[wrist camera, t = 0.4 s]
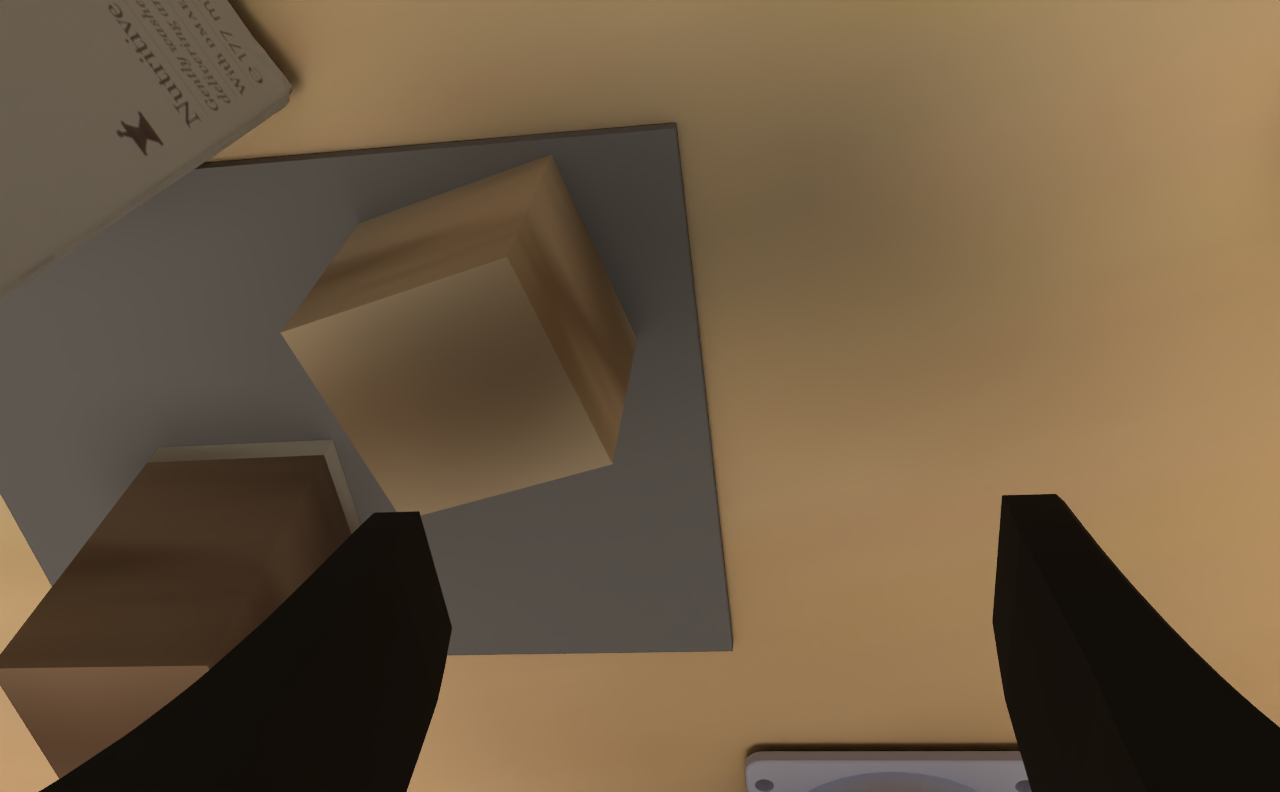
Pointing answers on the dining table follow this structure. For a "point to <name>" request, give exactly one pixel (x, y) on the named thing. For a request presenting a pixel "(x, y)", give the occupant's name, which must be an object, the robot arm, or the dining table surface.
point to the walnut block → (172, 586)
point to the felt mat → (295, 411)
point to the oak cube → (471, 342)
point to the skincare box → (114, 113)
